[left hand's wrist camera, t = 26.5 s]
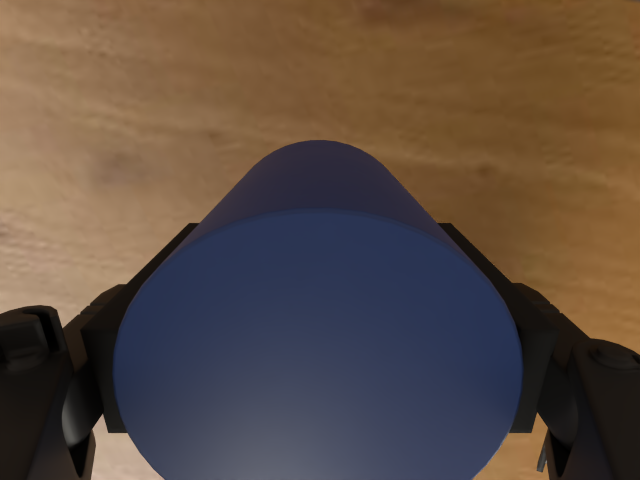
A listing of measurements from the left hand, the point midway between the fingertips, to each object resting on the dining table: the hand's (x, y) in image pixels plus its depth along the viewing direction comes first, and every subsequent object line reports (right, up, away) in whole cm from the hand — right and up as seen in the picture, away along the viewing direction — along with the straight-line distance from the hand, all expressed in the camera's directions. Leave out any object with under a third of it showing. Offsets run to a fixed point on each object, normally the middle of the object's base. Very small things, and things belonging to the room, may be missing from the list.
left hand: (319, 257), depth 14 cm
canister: (0, +1, +3) cm, 3 cm away
